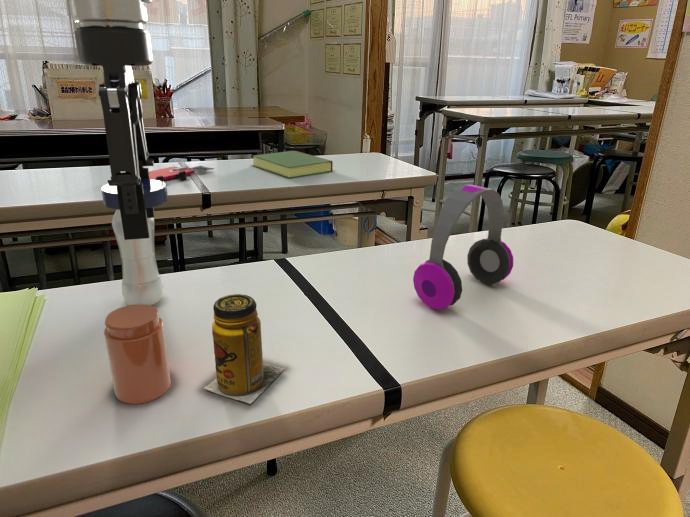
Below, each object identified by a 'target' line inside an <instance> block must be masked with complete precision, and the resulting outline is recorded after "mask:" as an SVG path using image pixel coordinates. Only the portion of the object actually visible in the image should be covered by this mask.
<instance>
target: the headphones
mask: <svg viewBox="0 0 690 517" xmlns="http://www.w3.org/2000/svg"><path fill="white" fill-rule="evenodd" d="M478 197H481V198H482V199H483V201H484V204H485V206H486V209H487V216H488V229H487V230H488V231H487V232H488V234H487V238H482V239H479V240H477V241H475V242H474V243H473V244H472V245H471V246H470V247H469V250H468V252H467V255H466V256H467V257H466V259H467V266H468V269H469V272H470V274H471V275H472V276H473V277H474V279H475V280H477V281H479V282H480V283H482V284H485V285H493V284H494V285H495V284H497V283H500V282H501V281H504V280H505V279H507V278H508V276H510V274H511V272H512V270H513V268H514V256H513V253H512V250H511V248H510V247H509V246H508V245H507V243H506V242H504V241H502V232H503V225H504V214H505V213H504V210H505V209H504V202H503V199H502V197H501V195H500V193H499V192H498V191H496V190H495V189H492V188H488V187H485V186H479V185H475V184H461V185H459V186H457V187H455V188H454V189H453V190H452V191H451V193H449V195H447V197H446V199H445V201H444V203H443V204H442V207H441V208H440V212H439V215H438V217H437V221H436V225H435V229H434V231H433V235H432V239H431V244H430V251H429V258H428V259H427V260H425V261H424V262H423V263H420V264H419V265H418V267H417V268H416V269H415V270H414V272H413V278H412V281H413V282H412V283H413V288H414V291H415V292H416V295H417V297H418V298H419V299H420V301H421V302H422V303H423V304H425V305H426V306H427V307H428V308H431V309H433V310H443V309H447V308H449V307H450V306H453V305H455V304H456V303H457V302H458V301H459V300H460V299H461V296H462V293H463V284H462V278H461V277H460V274H459V272H458V270H457V269H456V268H455V267H454V266H453V264H452V263H451V262H448V261H447V260H445V259H444V254H445V249H446V245H447V243H448V241H449V239H450V236H451V233H452V231H453V229H454V227H455V226H456V224H457V222H458V221H459V219H460V217H461V216H462V215H463V213H464V212H465V211H466V209H467V208H468V206H469V205H470V204H471V203H473V202H474V201H475V200H476V199H477V198H478Z"/></svg>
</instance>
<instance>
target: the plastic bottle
mask: <svg viewBox="0 0 690 517" xmlns="http://www.w3.org/2000/svg"><path fill="white" fill-rule="evenodd" d="M147 220H148V228H149V235H150V237H149V238H146V239H131V240H125V239H124V233H123V227H122V220H121V214H120V210H117V209H115V212H114V214H113V216H112V219H111V227H112V230H113V234H114V236H115V241H116V244H117V246H118V251H119V255H120V260H121V273H122V274H121V275H122V276H121V277H122V280H121V281H122V282H121V294H122V297H123V300H124V302H125V303H126V304H127V305H128V306H129V305H136V304H145V305H150V306H153V305H154V304H156V303H158V302H159V301H160V300H161V298H162V296H163V292H164V291H163V290H164V285H163V282H162V278H161V275H160V273H159V269H158V264H157V260H156V252H155V217H154V218H147Z"/></svg>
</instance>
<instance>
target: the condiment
mask: <svg viewBox="0 0 690 517" xmlns="http://www.w3.org/2000/svg"><path fill="white" fill-rule="evenodd" d="M257 306H258V304H257V302H256V301H255V299H254V298H253V297H252V296H250V295H247V294H241V293H234V294H229V295H228V294H227V295H224V296H222V297H220V298H218V299H217V300H216V301H215V302H214V304H213V322H212V324H211V325H212V326H211V329H212V330H211V333H212V339H213V340H212V341H213V354H214V364H215V372H216V373H215V374H216V378H214V379H213V380H212V381H211V382H209V383H208V384H207V385H206V386H205V387H203V388H202V389H203V390H206V391H209V392H210V393H211V392H212V393H214V394H217V395H220V396H223V397H226V398H229V399H232V400H235V401H239V402H243V403H246V404H249V405H251V404H252V403H253V402H254V401H255V400H256V399H257V398H259V397H260V395H261V394H262V393H264V391H265V390H266V389H267V388H268V387H269V386H270V384H272V382H273V381H274V380H275V379H277V377H279V375H280V374H281V373H282V372H283V371H284V370H285V369H286V368H285V367H283V366H278V365H273V364H269V363H266V362H264V360H263V359H264V358H263V341H262V323H261V319H260V318H259V316H258V315H259V314H258V310H257Z"/></svg>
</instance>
